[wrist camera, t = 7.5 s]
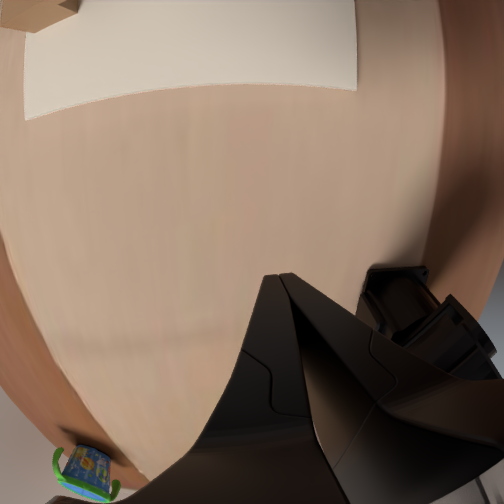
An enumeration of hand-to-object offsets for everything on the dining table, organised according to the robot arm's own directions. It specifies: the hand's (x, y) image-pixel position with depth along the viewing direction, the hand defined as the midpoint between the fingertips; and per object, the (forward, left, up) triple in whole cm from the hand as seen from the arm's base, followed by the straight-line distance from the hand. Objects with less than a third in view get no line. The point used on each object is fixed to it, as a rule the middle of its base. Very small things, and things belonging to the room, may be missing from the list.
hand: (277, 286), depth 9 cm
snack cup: (+32, +48, -13) cm, 59 cm away
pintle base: (+5, -15, -12) cm, 20 cm away
